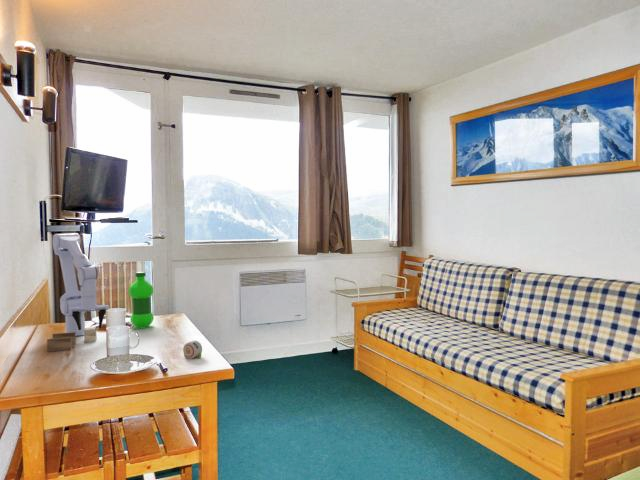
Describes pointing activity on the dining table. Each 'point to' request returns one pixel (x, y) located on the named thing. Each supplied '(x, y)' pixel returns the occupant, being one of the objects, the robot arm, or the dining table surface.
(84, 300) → the robot arm
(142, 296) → the plastic bottle
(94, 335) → the birch block
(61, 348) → the walnut cradle
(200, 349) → the roller toy
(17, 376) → the dining table surface
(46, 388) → the dining table surface
